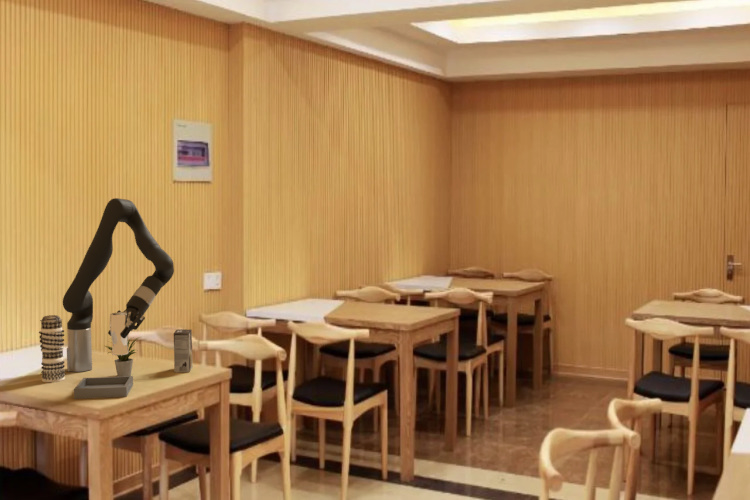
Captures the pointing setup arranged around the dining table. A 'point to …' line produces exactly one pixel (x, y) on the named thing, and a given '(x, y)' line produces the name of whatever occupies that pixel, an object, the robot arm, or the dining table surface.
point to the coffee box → (183, 350)
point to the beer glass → (119, 332)
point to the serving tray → (103, 387)
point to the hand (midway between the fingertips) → (116, 335)
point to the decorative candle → (52, 348)
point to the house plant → (124, 361)
